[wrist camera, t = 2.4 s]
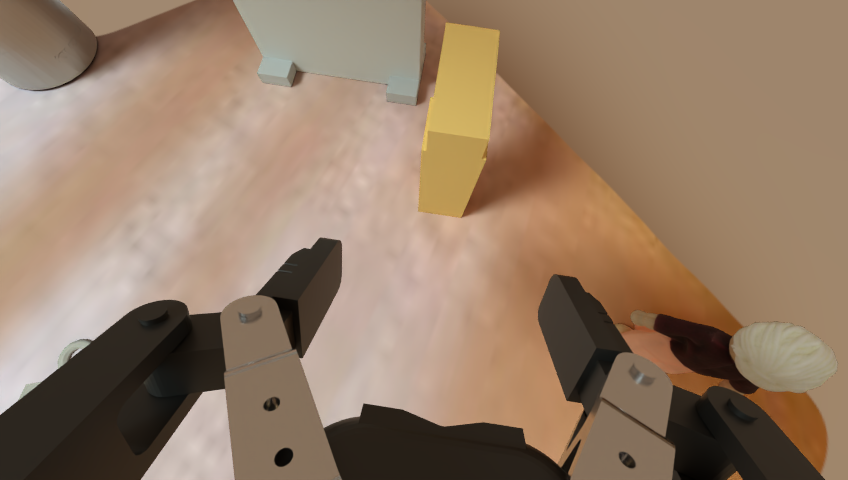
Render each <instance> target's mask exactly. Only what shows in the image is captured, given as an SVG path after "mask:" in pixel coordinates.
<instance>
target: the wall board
mask: <svg viewBox="0 0 848 480" xmlns="http://www.w3.org/2000/svg"><path fill="white" fill-rule="evenodd" d="M233 2H234V4H235V5H236V7H237V9H238V11H239V13H240V15H241V16H242V18H243V20H244V22H245V24H246V26H247V28H248V29H249V31H250V33H251V35H252V37H253V39H254V41H255V42H256V44H257V46H258V48H259V50H260V52H261V54H262V55H263V59H262V62H261V64H260V67H259V70H258V72H257V74H258V76H259V77H260V79H261V81H262V82H263V83H268V84H275V85H282V86H289V87H291V86H292V83H293V80H294V77H295V74H296V71H301V72H308V73H314V74H321V75H328V76H334V77H341V78H348V79H355V80H361V81H368V82H375V83H381V84H388V87H387V91H386V96H387V101H389V102H395V103H402V104H409V105H416V102H417V97H418V92H419V86H420V81H421V76H422V70H423V65H424V59H425V54H426V43H424V30H425V6H426V0H233Z"/></svg>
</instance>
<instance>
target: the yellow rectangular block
mask: <svg viewBox="0 0 848 480" xmlns="http://www.w3.org/2000/svg"><path fill="white" fill-rule="evenodd" d="M499 36H500V31H499V30H494V29H487V28H480V27H474V26H467V25H460V24H454V23H447V22H446V26H445V32H444V38H443V44H442V50H441V56H440V62H439V68H438V74H437V80H436V86H435V92H434V98H433V97H431V98H430V104H429V109H428V115H427V121H426V127H425V133H424V139H423V145H422V150H421V169H420V188H419V207H418V211H419V212H426V213H433V214H439V215H446V216H452V217H459V218H461V217H462V215H463V212H464V210H465V208H466V205H467V203H468V201H469V199H470V196H471V194H472V192H473V189H474V187H475V185H476V182H477V180H478V178H479V175H480V173H481V171H482V169H483V166H484V164H485V162H486V157H487V147H488V142H489V137H490V127H491V116H492V106H493V96H494V86H495V76H496V66H497V56H498V46H499Z"/></svg>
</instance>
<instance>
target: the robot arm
mask: <svg viewBox="0 0 848 480" xmlns="http://www.w3.org/2000/svg"><path fill="white" fill-rule="evenodd" d="M96 50H97V40H96V37H95V35H94V33H93V32H92V31H91V30H90V29H89V28H88V27H87V26H86V25H85V24H84V23H83V22H82V21H81V20H80V19H79V18H78V17H77V16H76V15H75V14H73V13H72V12H71V11H70V10H69V9H68V8H67V7H66V6H65V5H64V4H63V3H62V2H61V1H60V0H0V78H1V79H3V80H4V81H6V82H7V83H9V84H11V85H13V86H15V87H18V88H20V89H27V90H43V89H49V88H53V87H56V86H59V85H62V84H64V83H66V82H68V81H70V80H72V79H74V78H75V77H77V76H78V75H80V74H81V73H82V72H83V71H84V70H85V69H86V68H87V67H88V66H89V65H90V63H91V62H92V60H93V58H94V56H95V54H96ZM341 277H342V243H341V241H340V240H334V239H327V238H319V239H318V240H317V242H316V243H315V244H314V245H313V247H312V248H311V249H306V248H303V249H301V250H299V251H298V252H296V253H294V254H292V255H291V256H290V257H289V258H288V260H287V261H286V262H285V264H283V265H282V266H281V267H280V269H279V270H278V271H277V272H276V273H275V274H274V275H273V276H272V278H271V279H270V280H269V281H268V282H267V283H266V284H265V285H264V287H263V288H262V289H261V290H260V291H259V292H258V293H257V294H256V295H253V296H247V297H243V298H240V299H237V300H235V301H233V302H232V303H230V304H229V305H228V306H226V307H225V309H224V310H223V311H222V312H220V313H208V314H195V315H189V311H188V308H187V306H186V305H185V304H184V303H182V302H180V301H176V300H162V301H156V302H152V303H148V304H145V305H143V306H140V307H138V308H136V309H134V310H132V311H131V312H129V313H128V314H126V315H125V316H124V317H123V318H121V319H120V320H119V321H118V322H116V323H115V324H114V325H113V326H111V327H110V328H109V329H108V330H106V331H105V332H104V333H103V334H101V335H100V336H99V337H98V338H96V339H95V340H94V341H93V342H91V343H90V344H89V345H87V346H86V347H85V348H84V349H82V350H81V351H80V352H79V353H77V354H76V355H75V356H74V357H72V358H71V359H70V360H69V361H67V362H66V363H65V364H64V365H62V366H61V367H60V368H59V369H57V370H56V371H55V372H54V373H52V374H51V375H50V376H49V377H47V378H46V379H45V380H44V381H42V382H41V383H40V384H39V385H37V386H36V387H35V388H34V389H32V390H31V391H30V392H29V393H27V394H26V395H25V396H24V397H22V398H21V399H20V400H19V401H17V402H16V403H15V404H14V405H12V406H11V407H10V408H9V409H7V410H6V411H5V412H4V413H2V414H1V415H0V480H141V478H142V477H143V476H144V474H145V473H146V471H147V470H148V468H149V467H150V466H151V464H152V463H153V461H154V460H155V459H156V457H157V456H158V454H159V453H160V452H161V450H162V449H163V447H164V446H165V445H166V443H167V442H168V440H169V439H170V438H171V436H172V435H173V433H174V432H175V430H176V429H177V428H178V426H179V425H180V423H181V422H182V421H183V419H184V418H185V416H186V415H187V414H188V412H189V411H190V409H191V408H192V407H193V405H194V404H195V402H196V401H197V399H198V398H199V397H200V395H201V394H202V392H205V391H213V390H220V389H225V390H226V400H227V410H228V419H229V429H230V438H231V448H232V457H233V467H234V476H235V480H727V479H728V478H729V477H730V476H731V475H733V474H734V473H735V472H736V471H738V473H739V474H740V476H741V477H742V479H743V480H825V479H824V478H823V477H822V476H821V474H820V473H819V472H818V471H817V470H816V469H815V468H814V467H813V465H812V464H811V463H810V462H809V461H808V460H807V459H806V457H805V456H804V455H803V454H802V453H801V452H800V451H799V449H798V448H797V447H796V446H795V445H794V444H793V443H792V442H791V440H790V439H789V438H788V437H787V436H786V435H785V434H784V432H783V431H782V430H781V429H780V428H779V427H778V426H777V425H776V423H775V422H774V421H773V420H772V419H771V418H770V417H769V416H768V414H767V413H766V412H765V411H763V410H762V409H761V408H760V407H759V406H758V405H756V404H755V403H754V402H752V401H751V400H749V399H748V398H746V397H745V396H743V395H741V394H739V393H737V392H735V391H733V390H730V389H728V388H724V387H720V386H712V387H710V388H708V389H707V391H706V392H705V393H704V394H703V395H702V396H699V395H697V394H694V393H692V392H689V391H687V390H684V389H682V388H679V387H676V386H674V385H672V382H671V380H670V379H669V377H668V376H667V375H666V373H665V372H664V371H663V370H662V369H661V368H660V367H658V366H657V365H656V364H654V363H653V362H651V361H650V360H648V359H646V358H644V357H642V356H640V355H637V354H634V353H633V352H632V350H631V349H630V347H629V346H628V344H627V343H626V341H625V340H624V338H623V336H622V335H621V333H620V332H619V330H618V329H617V327H616V326H615V325H614V324H613V321H612V320H611V318H610V317H609V316H608V315H607V312H606V311H605V309H604V308H603V306H602V305H601V303H600V302H599V301H598V300H596V299H595V298H594V297H593V296H592V295H591V294H590V293H587V292H585V290H584V289H583V287H582V286H581V284H580V282H579V281H578V279H577V278H575V277H570V276H563V275H557V274H555V275H553V276H552V277H551V279H550V281H549V284H548V286H547V289H546V291H545V294H544V296H543V299H542V301H541V304H540V306H539V310H538V321H539V324H540V327H541V330H542V333H543V336H544V338H545V341H546V344H547V347H548V350H549V352H550V355H551V358H552V361H553V364H554V367H555V369H556V372H557V375H558V378H559V381H560V383H561V386H562V389H563V392H564V395H565V397H566V400H567V401H571V402H578V403H582V405H583V407H584V410H583V411H582V413H581V415H580V416H579V419H578V421H577V423H576V425H575V428H574V430H573V432H572V434H571V436H570V439H569V441H568V443H567V445H566V447H565V450H564V452H563V454H562V456H561V458H560V460H559V462H558V464H556V463H555V462H554V461H553V460H552V459H550V458H549V457H548V456H546V455H545V454H543V453H542V452H541V451H539V450H537V449H535V448H534V447H532V446H530V445H528V444H526V443H525V438H524V433H523V429H522V428H516V427H509V426H503V425H497V424H490V423H484V422H483V423H474V424H465V425H456V426H447V427H444V426H439V425H437V424H435V423H432V422H430V421H428V420H425V419H423V418H421V417H418V416H416V415H414V414H411V413H409V412H407V411H404V410H401V409H395V408H389V407H382V406H376V405H370V404H363V408H362V411H361V415H360V417H353V418H349V419H345V420H341V421H339V422H336V423H333V424H331V425H329V426H327V427H325V428H323V425H322V423H321V420H320V417H319V414H318V411H317V408H316V405H315V402H314V399H313V396H312V394H311V391H310V388H309V385H308V382H307V379H306V376H305V373H304V370H303V367H302V365H301V362H300V359H299V358H303V357H304V355H305V353H306V351H307V349H308V347H309V345H310V343H311V341H312V339H313V337H314V336H315V334H316V332H317V330H318V328H319V326H320V324H321V322H322V320H323V318H324V317H325V315H326V313H327V311H328V309H329V307H330V305H331V303H332V301H333V299H334V297H335V296H336V294H337V292H338V290H339V287H340V283H341Z"/></svg>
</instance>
